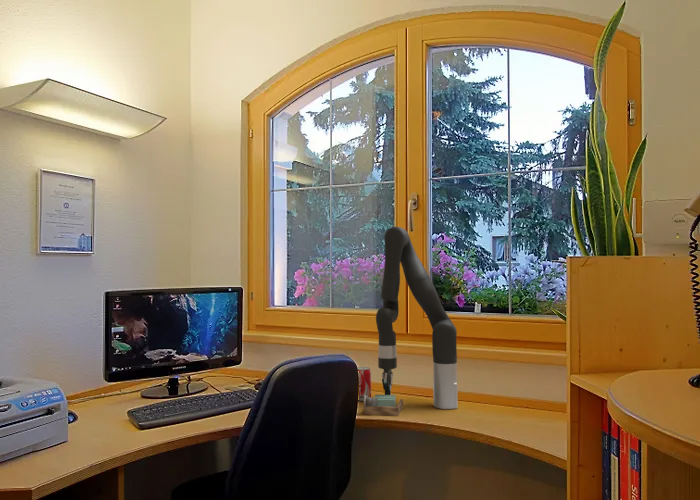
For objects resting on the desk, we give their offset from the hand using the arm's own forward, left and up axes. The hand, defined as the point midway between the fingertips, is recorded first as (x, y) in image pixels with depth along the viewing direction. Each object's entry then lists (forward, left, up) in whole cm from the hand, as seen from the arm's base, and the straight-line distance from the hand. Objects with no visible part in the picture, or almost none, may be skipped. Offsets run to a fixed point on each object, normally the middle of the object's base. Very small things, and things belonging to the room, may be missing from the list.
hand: (387, 399), depth 220 cm
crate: (0, +6, -2) cm, 6 cm away
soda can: (+11, -4, -2) cm, 12 cm away
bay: (+1, +12, -2) cm, 12 cm away
